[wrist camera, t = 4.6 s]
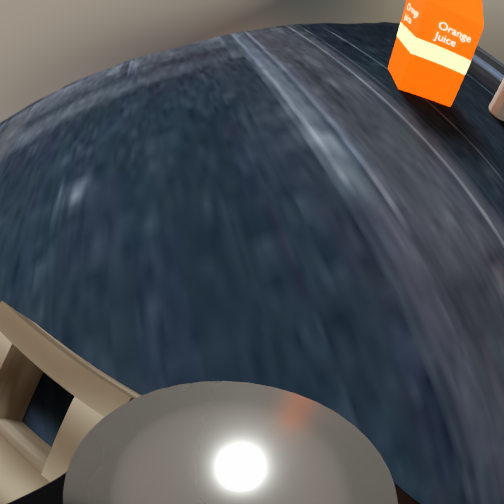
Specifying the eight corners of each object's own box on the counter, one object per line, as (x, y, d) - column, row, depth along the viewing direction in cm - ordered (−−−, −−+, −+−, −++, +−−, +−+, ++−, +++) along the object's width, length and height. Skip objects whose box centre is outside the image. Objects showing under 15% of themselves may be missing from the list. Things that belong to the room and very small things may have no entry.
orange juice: (387, 67, 38) (415, -42, 20) (435, 83, 37) (469, -17, 20) (398, 89, 34) (435, -37, 16) (451, 108, 33) (495, -5, 16)
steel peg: (258, 485, 11) (312, 652, 1) (190, 458, 12) (35, 552, 1) (285, 424, 13) (439, 431, 2) (219, 398, 14) (136, 325, 3)
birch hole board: (68, 590, 6) (42, 608, 3) (-30, 502, 8) (-63, 503, 4) (154, 402, 15) (130, 397, 11) (36, 323, 17) (1, 300, 13)
